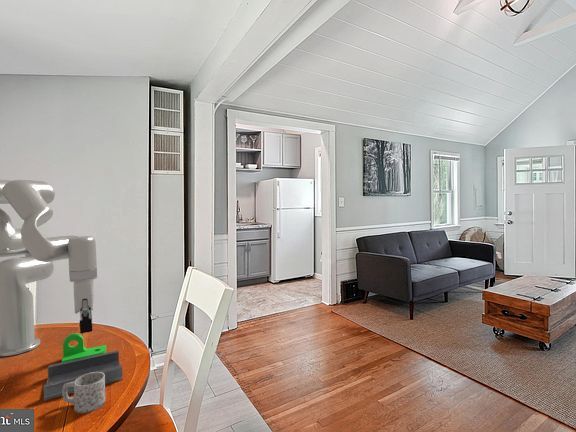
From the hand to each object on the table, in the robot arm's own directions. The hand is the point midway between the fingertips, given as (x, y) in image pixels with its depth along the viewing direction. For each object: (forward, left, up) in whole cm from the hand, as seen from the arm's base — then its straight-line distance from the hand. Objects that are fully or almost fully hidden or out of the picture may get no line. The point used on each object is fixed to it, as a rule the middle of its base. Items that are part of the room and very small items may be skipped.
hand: (86, 327), depth 103 cm
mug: (+27, -1, -11) cm, 29 cm away
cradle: (+13, -1, -11) cm, 17 cm away
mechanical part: (-2, -1, -11) cm, 11 cm away
